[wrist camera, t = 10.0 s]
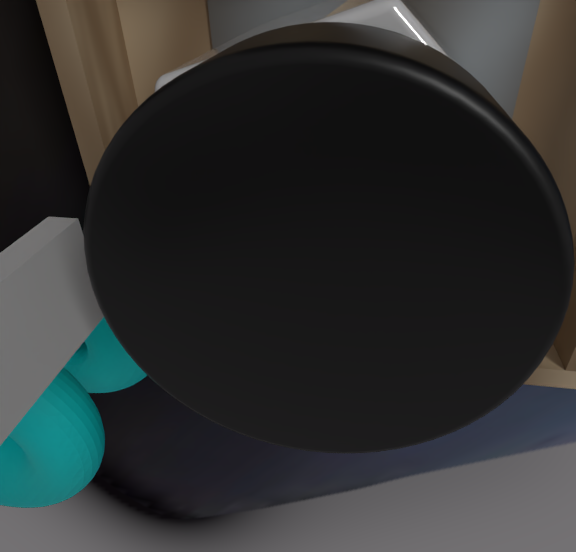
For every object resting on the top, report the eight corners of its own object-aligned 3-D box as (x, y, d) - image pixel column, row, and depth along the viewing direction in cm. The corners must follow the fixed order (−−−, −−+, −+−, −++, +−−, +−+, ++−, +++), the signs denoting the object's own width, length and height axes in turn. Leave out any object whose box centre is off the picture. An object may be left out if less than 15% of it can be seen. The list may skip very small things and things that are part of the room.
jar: (273, 231, 21) (180, 468, 11) (202, 41, 17) (-43, 149, 7) (482, 187, 18) (604, 448, 8) (457, -53, 14) (635, -90, 4)
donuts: (-147, 319, 15) (121, 465, 17) (39, 193, 23) (204, 304, 25) (-168, 444, 20) (38, 542, 22) (-11, 305, 28) (129, 388, 31)
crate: (750, -183, 12) (883, -235, 9) (554, 327, 22) (583, 390, 19) (72, -131, 15) (-10, -156, 12) (168, 298, 25) (137, 347, 22)
